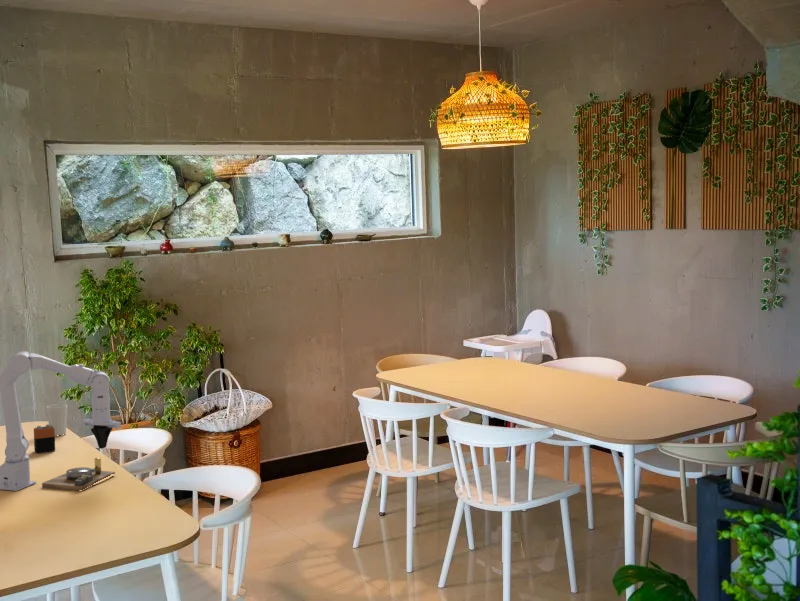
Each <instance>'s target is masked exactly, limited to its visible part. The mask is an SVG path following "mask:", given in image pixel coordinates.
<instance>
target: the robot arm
mask: <svg viewBox="0 0 800 601" xmlns="http://www.w3.org/2000/svg"><path fill="white" fill-rule="evenodd" d="M30 369H31V371H35V370H36V371H37V370H39V369H40V370H41V369H43V370H47V371H50V372H54V373H57V374H61V375H65V376H66V377H67V379H68V380H69V381H70V382H74V383H76V384H80V385H83V386H86V387H91V389H92V390H91V391H92V394H91V408H92V409H91V410H92V411H91V413H92V414H91V415H92V416H91V417H92V418H85V419H82V420H81V421H82V426H84V427H85V426H89V427H90V426H91V429H90V432H91V433H92V434H93V436H94V438H95V440H96V444H97V446H98V448H99V449H101V450H102V449H106V448H107V445H108V440H109V436H110V434H111V432H112V431H113V429H121V428H122V422H121V421H117V420H114V419H112V418H111V399H110V397H111V396H110V388H109V386H110V377H109V375H108V374H107V373H106V372H104V371H102V370H98V369H95V368H94V369H92V368H89V367H85V366H84V364H83V363H79V364H77V363H75V364H73V365H68V364H66V363H63V362H61V361H58V360H54V359H52V358H49V357H47V356H44V355H41V354H38V353H34V352H31V353H30V352H29V351H27V350H20V351H18V352H16V353H15V354H14V355H13V356H12V357H11V358H10V359H9V360H8V361H7V362H6V364H5V366H4V368H3V370H2V372H1V373H0V400H1V407H2V413H3V418H4V425H5V432H6V433H5V434H6V436H5V441H6V446H5V449H4V454H5V458H4V462H3V463H2V464H1V465H0V490H2V491H5V490H6V491H13V492H16V491H19V490H22V489H25V488H27V487H29V486H32V485H35V484H37V481H33V480H31V475H30V474H31V471H30V456H29V455H28V453H27V451H28V449H29V445H30V444H29V441H28V439H27V438H26V437H25V433H24V429H23V426H22V425H23V424H22V419H21V414H20V407H19V399H18V394H17V389H16V388H17V387H16V386H17V385H16V381H17V380H18V379H19V378H20V377H21V376H22V375H25V374H26V373H27V372H29V370H30Z"/></svg>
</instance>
